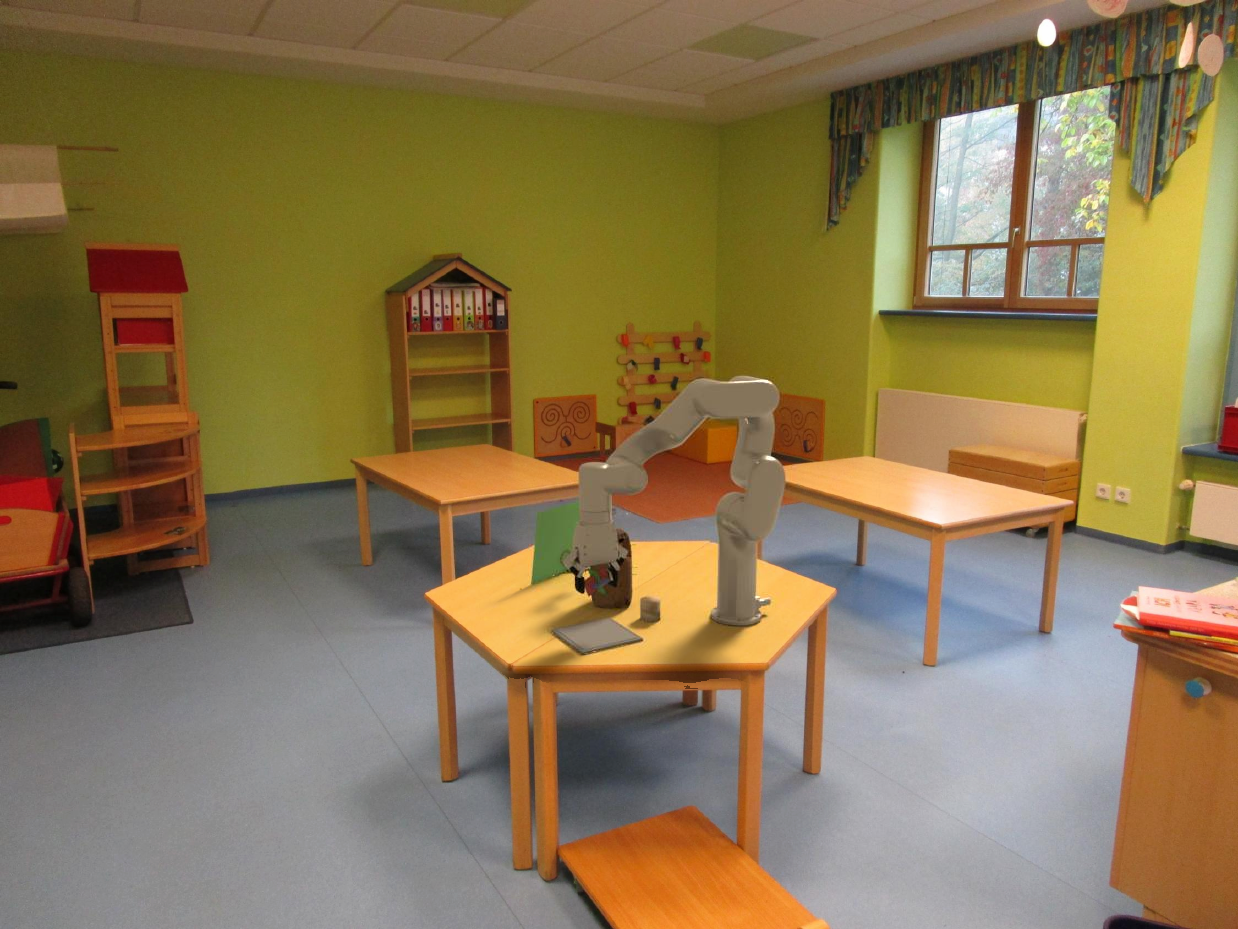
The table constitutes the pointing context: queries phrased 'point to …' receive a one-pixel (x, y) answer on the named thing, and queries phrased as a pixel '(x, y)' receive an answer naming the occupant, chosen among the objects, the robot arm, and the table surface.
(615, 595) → the block
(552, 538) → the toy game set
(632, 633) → the felt mat
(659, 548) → the table surface
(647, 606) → the tan rounded cylinder
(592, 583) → the geometric puzzle
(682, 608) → the table surface
